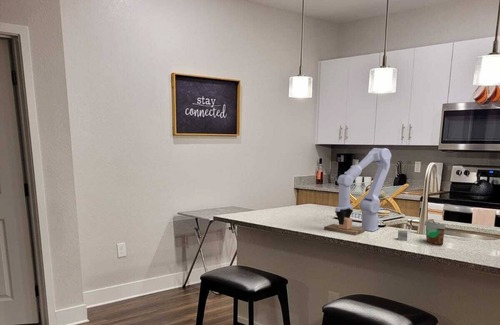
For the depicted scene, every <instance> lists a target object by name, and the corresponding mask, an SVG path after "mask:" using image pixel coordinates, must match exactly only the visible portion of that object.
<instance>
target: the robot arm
mask: <svg viewBox="0 0 500 325" xmlns="http://www.w3.org/2000/svg"><path fill="white" fill-rule="evenodd" d="M392 156H393V155H392V153H391V150H390V149H388V148H385V147H384V148H378V147H374V148H372V149H371V150H370V151H369V152H368V154H367V155H366V156H365V157H364V158H362V160H361V161H359V163H358V164H353V165H351V166H350V168H349V169H348V170H347V171H344V174H340V175H339V176H338V177H337V179H336V182H337V185H338V205H337V207H335V209H334V212H335V215H336V217H337V221H338V225H339V224H341V225H343V223H344V217H347V218H351V215H352V214H353V212H354V210H353V206H354V205H353V204H351V186H352V185H353V184H354V180H355V179H357V178H358V177H359V176H360V175H361V174H362V171H363V169H365V168H366V167H368V165H370V164H372V162H375V163H376V165H377V170H376V172H375V175H374V177H373V180H372V182H371V185H370V188H369V190H368V193H367V194H365V195H364V196H363V198H362V199H361V200H360V202H359V209H360V210H361V227H359V228H360V229H364V231H367V232H368V231H369V232H375V231H377V230H379V229H380V227H379V216H378V212H379V210H380V203H381V200H380V199H379V196H380V193H381V191H382V189H383V185H384V184H385V183H384V182H385V180H386V178H387V175H388V173H389V171H390V167H391V159H392Z"/></svg>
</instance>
